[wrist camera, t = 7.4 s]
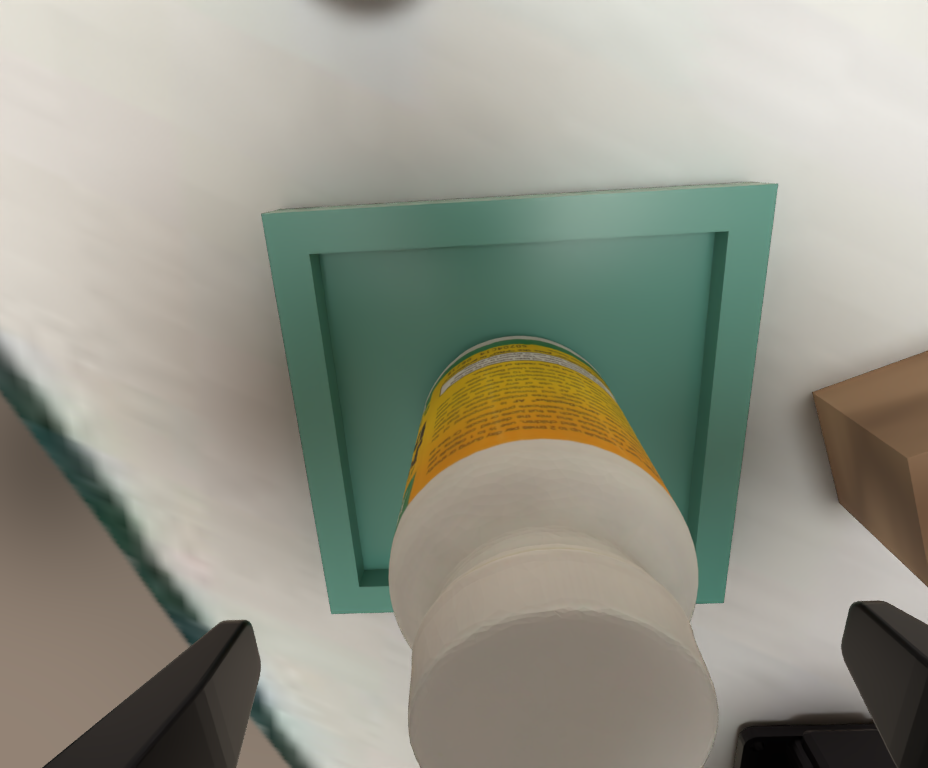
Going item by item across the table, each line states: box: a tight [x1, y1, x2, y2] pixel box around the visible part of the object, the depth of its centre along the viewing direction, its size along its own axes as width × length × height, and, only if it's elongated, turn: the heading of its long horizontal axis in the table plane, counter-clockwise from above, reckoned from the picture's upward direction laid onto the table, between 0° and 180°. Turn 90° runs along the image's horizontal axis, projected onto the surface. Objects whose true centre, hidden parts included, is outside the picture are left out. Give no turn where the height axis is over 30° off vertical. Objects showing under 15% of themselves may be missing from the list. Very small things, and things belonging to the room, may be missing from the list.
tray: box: [261, 182, 778, 614], centre depth 16 cm, size 12×12×1 cm
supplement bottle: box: [389, 336, 718, 768], centre depth 12 cm, size 5×5×10 cm
